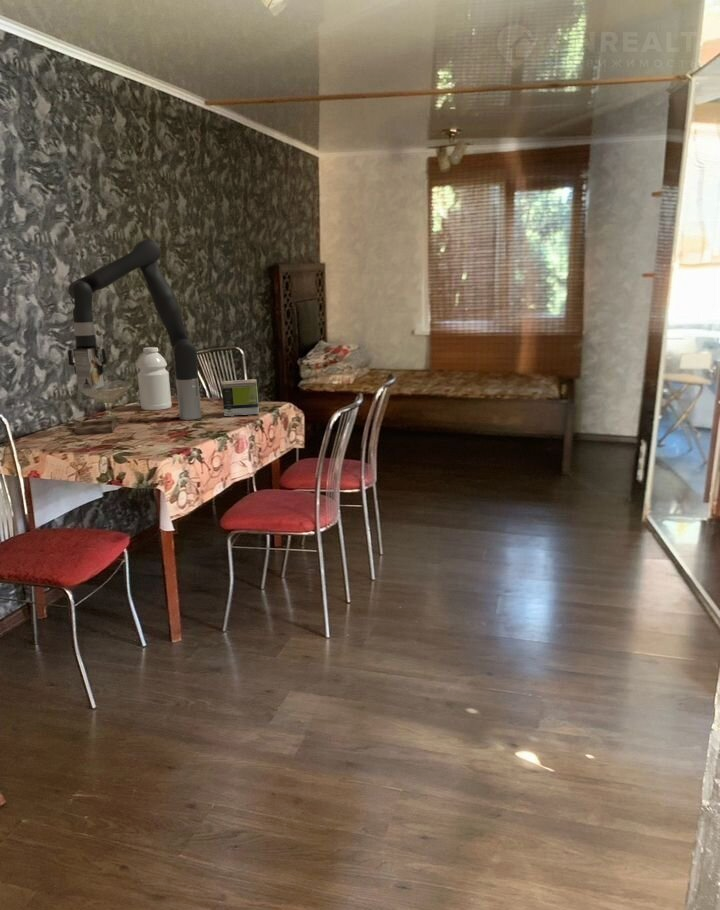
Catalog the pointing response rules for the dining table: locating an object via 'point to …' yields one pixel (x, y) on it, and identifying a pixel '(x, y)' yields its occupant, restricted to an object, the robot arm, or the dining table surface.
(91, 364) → the coffee box
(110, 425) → the walnut tray
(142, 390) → the bottle
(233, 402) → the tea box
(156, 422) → the dining table surface
